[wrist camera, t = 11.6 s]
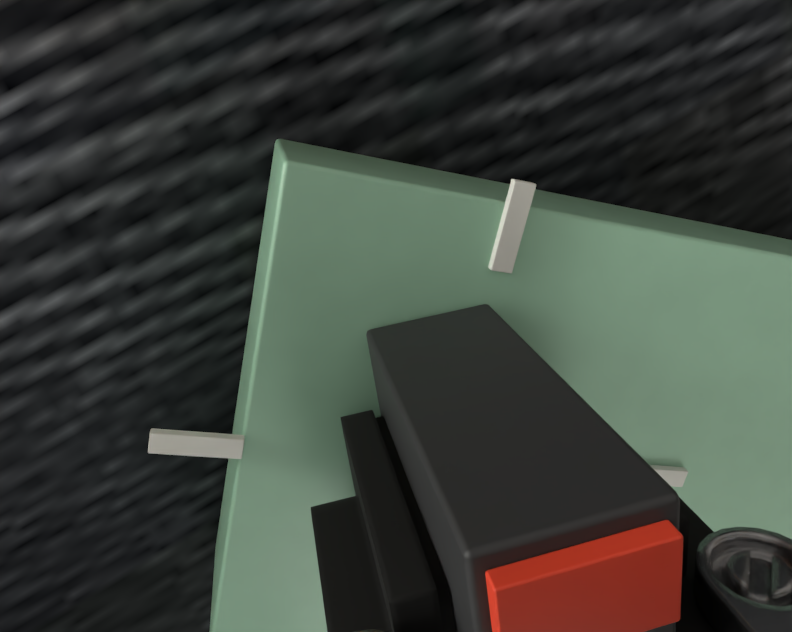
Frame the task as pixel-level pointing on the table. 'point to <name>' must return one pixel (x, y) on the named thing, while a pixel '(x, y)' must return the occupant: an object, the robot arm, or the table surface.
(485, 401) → the bar knob
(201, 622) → the table surface
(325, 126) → the table surface
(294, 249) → the toggle switch base
